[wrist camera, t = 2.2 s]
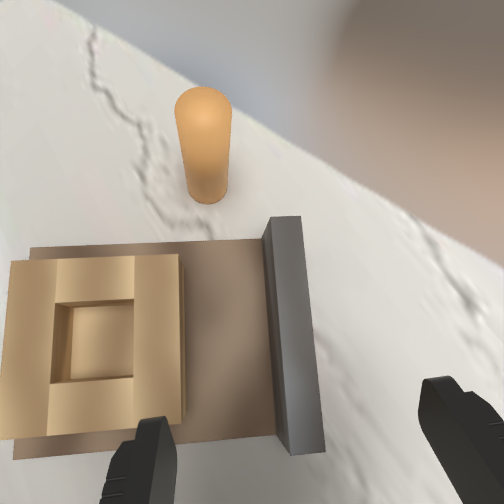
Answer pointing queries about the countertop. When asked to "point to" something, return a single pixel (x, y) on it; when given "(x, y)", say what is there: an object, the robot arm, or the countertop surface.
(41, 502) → the countertop surface
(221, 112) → the dowel
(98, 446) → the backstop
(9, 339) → the socket block
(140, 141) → the countertop surface
